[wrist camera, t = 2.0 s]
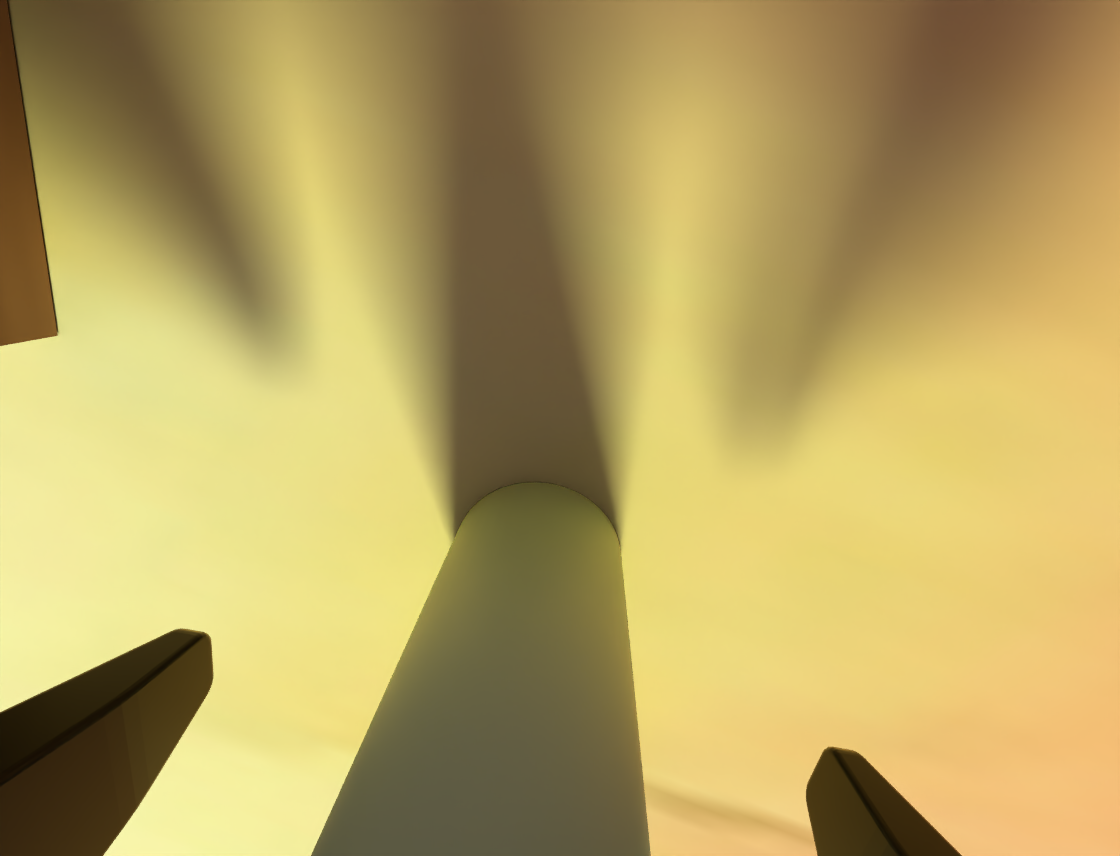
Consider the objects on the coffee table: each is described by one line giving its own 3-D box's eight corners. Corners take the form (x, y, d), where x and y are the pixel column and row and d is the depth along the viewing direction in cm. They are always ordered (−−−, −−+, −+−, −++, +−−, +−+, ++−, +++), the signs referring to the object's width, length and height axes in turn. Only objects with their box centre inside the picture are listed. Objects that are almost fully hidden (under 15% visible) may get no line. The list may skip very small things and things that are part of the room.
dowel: (637, 500, 11) (811, 1439, 2) (602, 637, 12) (632, 1580, 4) (465, 467, 11) (7, 1306, 2) (446, 609, 12) (107, 1492, 4)
